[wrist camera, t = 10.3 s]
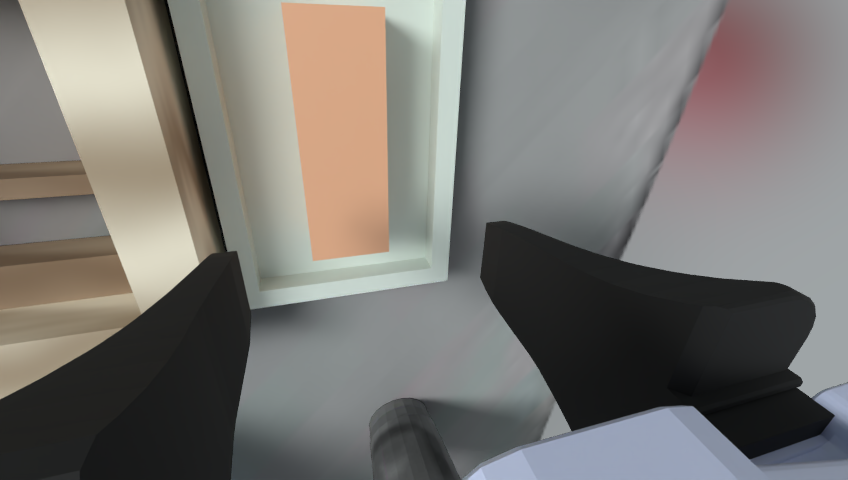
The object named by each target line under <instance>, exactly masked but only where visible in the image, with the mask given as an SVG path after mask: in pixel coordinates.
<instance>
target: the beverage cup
mask: <svg viewBox="0 0 848 480" xmlns="http://www.w3.org/2000/svg"><path fill="white" fill-rule="evenodd" d="M369 427H370V438H371V442H370V447H371V458H372V468H373V478H374V480H461V479H460V477H459V475H458V473H457V471H456V469H455V466H454V464H453V462H452V460H451V458H450V456H449V454H448V452H447V449H446V447H445V445H444V443H443V441H442V439H441V437H440V435H439V432H438V430H437V428H436V426H435V424H434V422H433V420H432V419H431V418H430V416H429V414H428V412H427V409H426V407H425V405H424V404H423V403H422V402H420V401H419V400H415V399H412V398H404V399H398V400H394V401H391V402H389V403H387V404H385V405H383V406H382V407H381V408H380V409H378V410H377V411H376V412H375V413H374V415H373V416H372V417H371V420H370V423H369Z"/></svg>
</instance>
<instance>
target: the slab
mask: <svg viewBox="0 0 848 480" xmlns="http://www.w3.org/2000/svg"><path fill="white" fill-rule="evenodd" d="M281 7H282V15H283V23H284V31H285V39H286V47H287V56H288V64H289V72H290V80H291V88H292V96H293V104H294V112H295V120H296V128H297V137H298V145H299V153H300V161H301V169H302V177H303V185H304V193H305V201H306V209H307V217H308V226H309V234H310V242H311V250H312V258H313V261H318V260H326V259H334V258H342V257H351V256H359V255H367V254H375V253H383V252H389V209H388V149H387V89H386V29H385V7H375V6H351V5H328V4H305V3H282V2H281Z"/></svg>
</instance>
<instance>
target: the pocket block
mask: <svg viewBox="0 0 848 480" xmlns="http://www.w3.org/2000/svg"><path fill="white" fill-rule="evenodd" d="M18 1H19V3H20V6H21V8H22V11H23V13H24V16H25V18H26V21H27V24H28V26H29V29H30V31H31V34H32V36H33V39H34V41H35V44H36V47H37V49H38V52H39V54H40V57H41V59H42V62H43V64H44V67H45V69H46V72H47V75H48V77H49V80H50V82H51V85H52V87H53V90H54V92H55V95H56V98H57V100H58V103H59V105H60V108H61V110H62V113H63V115H64V118H65V121H66V123H67V126H68V128H69V131H70V133H71V136H72V138H73V141H74V143H75V146H76V149H77V151H78V154H79V156H80V159H81V160H80V161H60V162H41V163H21V164H1V165H0V200H14V199H29V198H43V197H57V196H72V195H86V194H94V195H95V197H96V200H97V202H98V205H99V207H100V210H101V212H102V215H103V217H104V220H105V223H106V225H107V228H108V230H109V233H110V235H111V236H101V237H90V238H79V239H69V240H58V241H47V242H37V243H26V244H16V245H5V246H0V399H2V398H4V397H6V396H8V395H10V394H12V393H14V392H15V391H17V390H19V389H21V388H23V387H25V386H27V385H29V384H31V383H33V382H35V381H37V380H39V379H40V378H42V377H44V376H46V375H48V374H49V373H51V372H53V371H54V370H56V369H58V368H60V367H61V366H63V365H65V364H67V363H68V362H70V361H72V360H73V359H75V358H77V357H79V356H80V355H82V354H84V353H86V352H87V351H89V350H91V349H92V348H94V347H95V346H97V345H98V344H100V343H101V342H103V341H104V340H106V339H107V338H109V337H110V336H112V335H113V334H115V333H116V332H118V331H119V330H121V329H122V328H124V327H125V326H126V325H128V324H129V323H131V322H132V321H133V320H135V319H136V318H137V317H139V316H140V315H141V314H142V313H143V312H145V311H146V310H147V309H148V308H150V307H151V306H152V305H153V304H155V303H156V302H157V301H158V300H160V299H161V298H162V297H163V296H164V295H166V294H167V293H168V292H169V291H170V290H171V289H173V288H174V287H175V286H176V285H177V284H178V283H179V282H180V281H182V280H183V279H184V278H185V277H186V276H187V275H188V274H189V273H190V272H191V271H192V270H194V269H195V268H196V267H197V266H198V265H199V264H200V263H201V262H202V261H203V260H204V259H206V258H207V257H208V256H209V255H210V254H212V253H221V252H225V248H224V244H223V240H222V236H221V232H220V228H219V224H218V220H217V215H216V211H215V207H214V203H213V199H212V195H211V191H210V187H209V182H208V178H207V174H206V170H205V166H204V162H203V158H202V154H201V149H200V145H199V141H198V137H197V133H196V129H195V125H194V121H193V116H192V112H191V108H190V104H189V100H188V96H187V92H186V88H185V83H184V79H183V75H182V71H181V67H180V63H179V59H178V55H177V50H176V46H175V42H174V38H173V34H172V30H171V26H170V22H169V17H168V13H167V9H166V5H165V1H164V0H18Z"/></svg>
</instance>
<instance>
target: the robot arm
mask: <svg viewBox="0 0 848 480" xmlns="http://www.w3.org/2000/svg"><path fill="white" fill-rule="evenodd" d="M480 278H481V280H482V283H483V285H484V287H485V289H486V291H487V293H488V295H489V297H490V299H491V301H492V302H493V304H494V305H495V307H496V308H497V310H498V311H499V313H500V314H501V316H502V317H503V318H504V320H505V321H506V323H507V324H508V325H509V327H510V328H511V330H512V331H513V332H514V334H515V335H516V337H517V338H518V339H519V341H520V342H521V344H522V345H523V346H524V348H525V349H526V351H527V352H528V353H529V355H530V356H531V358H532V359H533V361H534V362H535V364H536V365H537V367H538V369H539V370H540V372H541V374H542V376H543V378H544V379H545V381H546V383H547V385H548V387H549V388H550V390H551V392H552V394H553V396H554V398H555V399H556V401H557V403H558V405H559V407H560V409H561V411H562V413H563V415H564V417H565V419H566V421H567V422H568V424H569V427H570V429H571V431H572V432H568V433H565V434H562V435H558V436H555V437H550V438H547V439H543V440H540V441H536V442H533V443H529V444H526V445H522V446H518V447H515V448H513V449H511V450H509V451H506V452H504V453H502V454H500V455H497V456H495V457H493V458H491V459H489V460H486V461H484V462H482V463H480V464H479V465H478V466H477V467H476V468H474V469H473V470H472V471H471V472H470V473H469V474H468V475H466V476H465V477H464V478H463V479H462V480H848V382H847V383H844V384H840V385H837V386H834V387H831V388H827V389H825V390H822V391H821V392H819V393H817V394H816V395H815V396H813V397H812V398H810V397H809V396H807V395H806V394H805V393H803V392H802V391H800V390H799V389H798V388H796V387H799V386H801V384H802V383H803V381H802V379H801V377H799V376H798V375H796V374H795V373H793V372H792V371H790V370H789V369H788V367H789V365H790V363H791V362H792V360H793V359H794V358H795V356H796V354H797V353H798V351H799V350H800V348H801V346H802V345H803V343H804V342H805V340H806V339H807V337H808V335H809V333H810V331H811V329H812V327H813V324H814V321H815V317H816V313H815V305H814V303H813V302H812V300H811V299H810V298H809V297H807V296H805V295H803V294H801V293H800V292H798V291H796V290H794V289H792V288H790V287H788V286H786V285H783V284H780V283H775V282H763V281H748V280H734V279H722V278H713V277H705V276H697V275H690V274H683V273H677V272H671V271H666V270H660V269H655V268H650V267H645V266H641V265H636V264H632V263H628V262H624V261H621V260H617V259H613V258H609V257H606V256H603V255H599V254H596V253H593V252H590V251H587V250H584V249H581V248H578V247H575V246H573V245H570V244H567V243H565V242H562V241H559V240H557V239H554V238H552V237H549V236H546V235H544V234H541V233H539V232H536V231H534V230H531V229H528V228H526V227H523V226H520V225H517V224H514V223H511V222H507V221H499V222H490V223H486V232H485V241H484V250H483V258H482V267H481V276H480ZM250 328H251V311H250V306H249V302H248V297H247V293H246V288H245V284H244V280H243V275H242V271H241V266H240V262H239V257H238V253H237V251H230V252H221V253H212V254H210V255H209V256H208V257H207V258H206V259H204V260H203V261H202V262H201V263H200V264H199V265H198V266H197V267H196V268H195V269H194V270H192V271H191V272H190V273H189V274H188V275H187V276H186V277H185V278H184V279H183V280H182V281H180V282H179V283H178V284H177V285H176V286H175V287H174V288H173V289H171V290H170V291H169V292H168V293H167V294H166V295H164V296H163V297H162V298H161V299H160V300H158V301H157V302H156V303H155V304H153V305H152V306H151V307H150V308H148V309H147V310H146V311H145V312H143V313H142V314H141V315H140V316H139V317H137V318H136V319H135V320H133V321H132V322H131V323H129V324H128V325H126V326H125V327H124V328H122V329H121V330H119V331H118V332H116V333H115V334H113V335H112V336H110V337H109V338H107V339H106V340H104V341H103V342H101V343H100V344H98V345H97V346H95V347H94V348H92V349H91V350H89V351H87V352H86V353H84V354H82V355H80V356H79V357H77V358H75V359H73V360H72V361H70V362H68V363H67V364H65V365H63V366H61V367H60V368H58V369H56V370H54V371H53V372H51V373H49V374H48V375H46V376H44V377H42V378H40V379H39V380H37V381H35V382H33V383H31V384H29V385H27V386H25V387H23V388H21V389H19V390H17V391H15V392H14V393H12V394H10V395H8V396H6V397H4V398H2V399H0V480H231V468H232V454H233V440H234V431H235V423H236V417H237V411H238V406H239V401H240V395H241V390H242V385H243V379H244V374H245V368H246V363H247V357H248V352H249V346H250Z"/></svg>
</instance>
